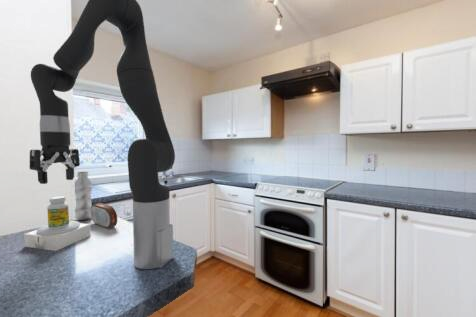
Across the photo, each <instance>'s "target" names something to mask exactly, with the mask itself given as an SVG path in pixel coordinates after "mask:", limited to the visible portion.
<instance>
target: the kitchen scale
mask: <svg viewBox="0 0 476 317" xmlns="http://www.w3.org/2000/svg"><path fill="white" fill-rule="evenodd" d="M89 237H91V223H82V222H79V220H69V225H68V226H66V227H63V228H59V229H50V228H49V227H48V223H47V224H45V225H42V226H39V227H38V228H37V229H35V230H32V231H29V232H26V233H24V247H25V246H26V247H25V248H31V249H40V250H47V251H54V252H58V251H60V250H61V249H64V248H66V247H67V246H70V245H73V244H74V243H76V242H77V243H78V242H79V241H81V240H84V239H86V238H89Z"/></svg>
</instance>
